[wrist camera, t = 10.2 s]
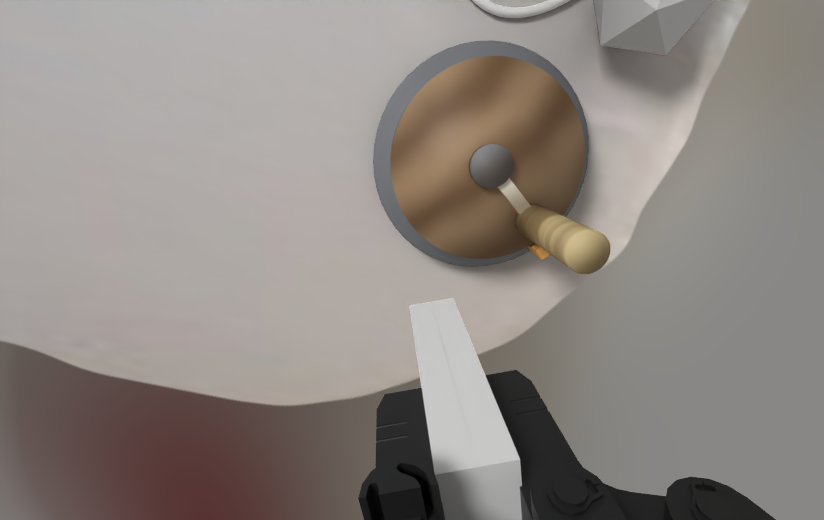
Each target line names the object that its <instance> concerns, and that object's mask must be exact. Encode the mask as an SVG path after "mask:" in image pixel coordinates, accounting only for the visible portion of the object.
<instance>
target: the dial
mask: <svg viewBox="0 0 824 520" xmlns="http://www.w3.org/2000/svg"><path fill="white" fill-rule="evenodd" d="M584 159H585V142H584V133H583V129H582V124H581V120H580V117H579V115H578V112H577V110H576V107H575V105H574V104H573V102H572V100H571V98H570V97H569V95H568V94H567V92H566V91H565V90H564V88H563V87H562V86H561V85H560V84H559V83H558V82H557V81H556V80H555V79H554V78H553V77H552V76H551V75H549V74H548V73H547V72H545V71H544V70H542V69H541V68H539V67H537V66H535V65H533V64H531V63H529V62H526V61H523V60H520V59H517V58H512V57H506V56H484V57H476V58H472V59H469V60H465V61H462V62H459V63H457V64H455V65H453V66H451V67H448V68H447V69H445V70H444V71H442V72H440V73H439V74H437V75H436V76H435V77H433V78H432V79H431V80H430V81H429V82H427V83H426V84H425V85H424V86H423V87H422V88H421V89H420V91H419V92H418V93H417V94H416V95H415V96H414V97H413V99H412V100H411V101H410V103H409V104H408V106H407V107H406V109H405V110H404V112H403V114H402V116H401V118H400V120H399V122H398V125H397V128H396V130H395V133H394V138H393V142H392V147H391V156H390V171H391V178H392V184H393V188H394V192H395V195H396V199H397V201H398V203H399V206H400V208H401V210H402V212H403V214H404V215H405V217H406V219H407V220H408V222H409V223H410V224H411V225H412V227H413V228H414V229H415V230H416V231H417V232H418V233H419V234H420V235H421V236H422V237H423V238H424V239H425V240H427V241H428V242H430V243H431V244H432V245H434V246H435V247H437V248H439V249H441V250H443V251H445V252H448V253H450V254H453V255H456V256H461V257H465V258H473V259H490V258H497V257H502V256H506V255H509V254H513V253H515V252H518V251H520V250H522V249H524V248H526V247H528V246H530V245H532V244H533V243H535V244H537V245H538V246H540V247H541V248H542V249H544V250H545V251H547V252H548V253H549V254H551V255H552V256H554V257H555V258H556V259H558V260H559V261H561V262H562V263H563V264H565V265H566V266H568V267H569V268H570V269H572V270H573V271H575V272H577V273H580V274H590V273H593V272H595V271H597V270H599V269H600V268H601V267H602V266H603V265H604V264H605V263H606V261H607V260H608V257H609V255H610V243H609V241H608V239H607V238H606V236H605V235H603V234H602V233H600V232H598V231H595V230H593V229H591V228H589V227H587V226H584V225H582V224H580V223H578V222H576V221H573V220H571V219H569V218H567V217H565V216H563V215H564V214H565V212H566V211H567V209H568V208H569V206H570V204H571V202H572V200H573V199H574V197H575V194H576V192H577V189H578V187H579V184H580V180H581V176H582V173H583V167H584Z"/></svg>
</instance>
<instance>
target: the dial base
mask: <svg viewBox="0 0 824 520" xmlns="http://www.w3.org/2000/svg"><path fill="white" fill-rule="evenodd" d="M484 56H506V57H512V58H517V59H520V60H523V61H526V62H529V63H531V64H533V65H535V66H537V67H539V68H541V69H542V70H544V71H545V72H547V73H548V74H549V75H551V76H552V77H553V78H554V79H555V80H556V81H557V82H558V83H559V84H560V85H561V86H562V87H563V88H564V90H565V91H566V92H567V94H568V95H569V97H570V98H571V100H572V102H573V104H574V105H575V107H576V110H577V112H578V115H579V117H580V120H581V124H582V129H583V133H584V142H585V159H584V167H583V173H582V176H581V180H580V184H579V187H578V189H577V192H576V194H575V197H574V199H573V200H572V202H571V204H570V206H569V208H568V209H567V211H566V212H565V214H564V215H563V216H565V217H566V216H567V214H568V213H569V211H570V210H571V208H572V207H573V205H574V203H575V201H576V199H577V197H578V195H579V192H580V189H581V187H582V184H583V181H584V177H585V173H586V168H587V161H588V152H589V149H588V131H587V125H586V120H585V116H584V113H583V109H582V107H581V104H580V102H579V100H578V97H577V95H576V93H575V92H574V90H573V88H572V87H571V85H570V84H569V82H568V81H567V80H566V78H565V77H564V76H563V75H562V74H561V72H560V71H559V70H558V69H557V68H556V67H554V66H553V65H552V64H551V63H550V62H549V61H548V60H546V59H544V58H543V57H541V56H540V55H538V54H537V53H535V52H533V51H531V50H529V49H526V48H524V47H522V46H518V45H515V44H511V43H507V42H499V41H475V42H470V43H464V44H460V45H457V46H454V47H451V48H448V49H446V50H444V51H442V52H440V53H438V54H436V55H434V56H432V57H431V58H429V59H428V60H426V61H425V62H423V63H422V64H420V65H419V66H418V67H417V68H416V69H415V70H414V71H413V72H411V73H410V74H409V75H408V76H407V77H406V79H405V80H404V81H403V82H402V83H401V84H400V86H399V87H398V88H397V90H396V91H395V93H394V94H393V96H392V97H391V99H390V100H389V102H388V104H387V106H386V109H385V111H384V113H383V115H382V117H381V121H380V124H379V127H378V130H377V134H376V140H375V145H374V159H373V163H374V177H375V182H376V187H377V191H378V194H379V197H380V200H381V203H382V205H383V207H384V209H385V211H386V213H387V215H388V217H389V219H390V220H391V222H392V223H393V225H394V226H395V228H396V229H397V230H398V231H399V232H400V233H401V234H402V236H403V237H404V238H405V239H406V240H408V241H409V242H410V243H411V244H412V245H413V246H415V247H416V248H418V249H419V250H421V251H422V252H424V253H425V254H427V255H429V256H431V257H433V258H435V259H438V260H441V261H444V262H447V263H451V264H456V265H461V266H487V265H492V264H498V263H502V262H505V261H508V260H511V259H514V258H516V257H518V256H520V255H522V254H525V253H526V252H528V251H531V252H532V253H533V254H535V255H536V256H537V257H538V258H540V259H541V260H543V259H545V258H546V257H548V256H549V255H550V254H549V253H548V252H547V251H545V250H544V249H542V248H541V247H540V246H538V245H537V244H535V243H533V244H532V245H530V246H528V247H526V248H524V249H522V250H520V251H518V252H515V253H513V254H509V255H506V256H502V257H497V258H490V259H473V258H465V257H461V256H456V255H453V254H450V253H448V252H445V251H443V250H441V249H439V248H437V247H435V246H434V245H432V244H431V243H430V242H428V241H427V240H425V239H424V238H423V237H422V236H421V235H420V234H419V233H418V232H417V231H416V230H415V229H414V228H413V227H412V225H411V224H410V223H409V222H408V220H407V219H406V217H405V215H404V214H403V212H402V210H401V208H400V206H399V203H398V201H397V199H396V195H395V192H394V188H393V184H392V178H391V171H390V156H391V147H392V142H393V138H394V133H395V130H396V128H397V125H398V122H399V120H400V118H401V116H402V114H403V112H404V110H405V109H406V107H407V106H408V104H409V103H410V101H411V100H412V99H413V97H414V96H415V95H416V94H417V93H418V92H419V91H420V89H421V88H422V87H423V86H424V85H425V84H426V83H427V82H429V81H430V80H431V79H432V78H433V77H435V76H436V75H437V74H439V73H440V72H442V71H444V70H445V69H447V68H448V67H451V66H453V65H455V64H457V63H459V62H462V61H465V60H469V59H472V58H476V57H484Z"/></svg>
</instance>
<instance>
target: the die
mask: <svg viewBox="0 0 824 520" xmlns="http://www.w3.org/2000/svg"><path fill="white" fill-rule="evenodd" d="M713 1H714V0H593V2H594V8H595V14H596V20H597V26H598V32H599V39H600V45H601V46H606V47H613V48H619V49H626V50H633V51H639V52H646V53H652V54H659V55H667V54H668V53H669V52H670V50H671V49H672V48H673V47H674V46H675V45H676V43H677V42H678V41H679V40H680V39H681V38H682V37H683V35H684V34H685V33H686V32H687V31H688V30H689V28H690V27H691V26H692V25H693V24H694V23H695V21H696V20H697V19H698V18H699V17H700V16H701V15H702V13H703V12H704V11H705V10H706V9H707V8H708V6H709V5H710V4H711V3H712V2H713Z"/></svg>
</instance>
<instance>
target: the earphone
mask: <svg viewBox="0 0 824 520" xmlns="http://www.w3.org/2000/svg"><path fill="white" fill-rule="evenodd" d="M472 1H473V2H474V3H475V4H476V5H477V6H479V7H480V8H481V9H483V10H485V11H486V12H488V13H490V14H493V15H496V16H499V17H504V18H525V17H530V16H535V15H538V14H542V13H545V12H547V11H550V10H552V9H555V8H557V7H559V6H561V5H563V4H565V3H567V2H569V1H570V0H548V1H545V2H542V3H539V4H536V5H532V6H526V7H506V6H501V5H498V4H495V3H493V2H491V1H490V0H472Z"/></svg>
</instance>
